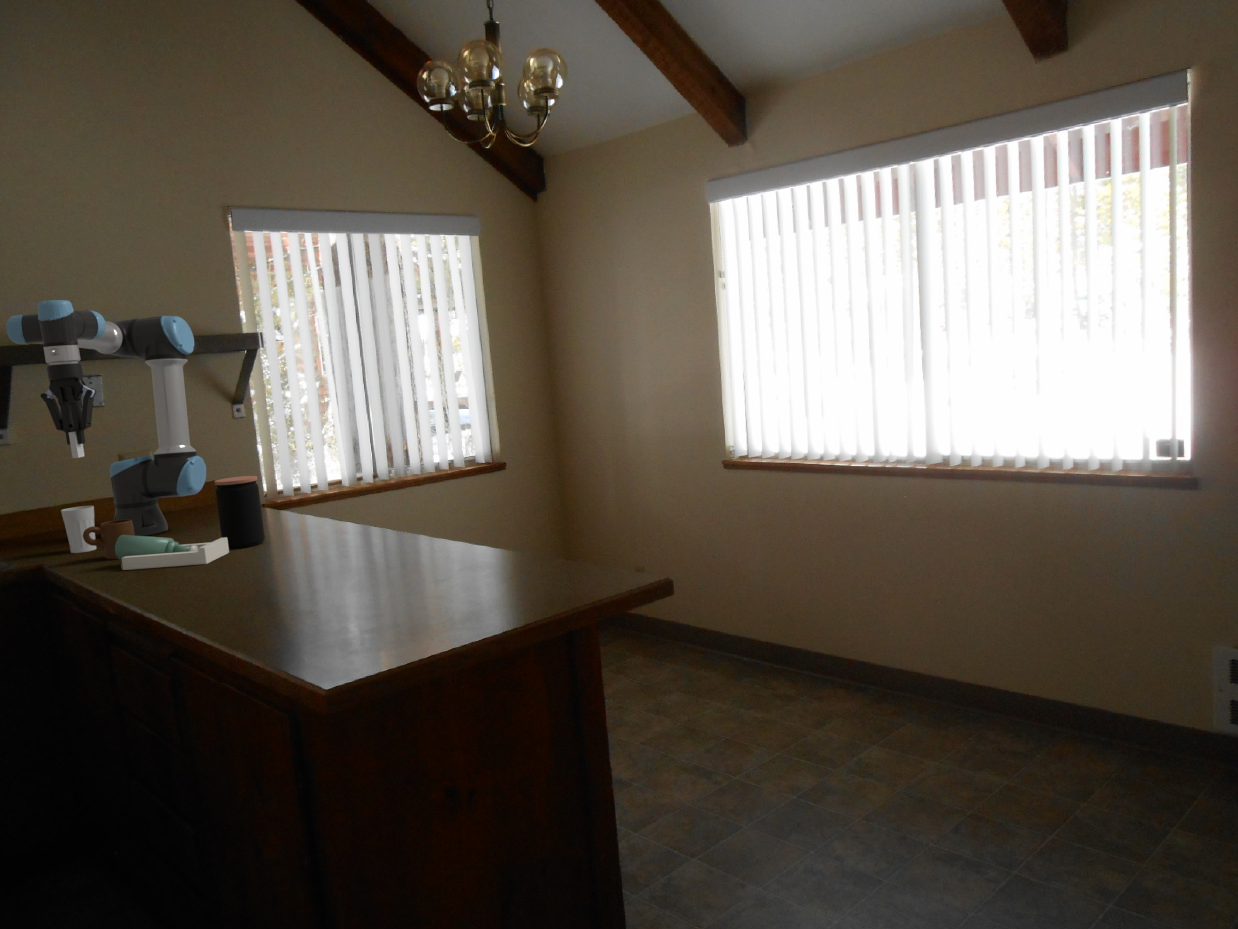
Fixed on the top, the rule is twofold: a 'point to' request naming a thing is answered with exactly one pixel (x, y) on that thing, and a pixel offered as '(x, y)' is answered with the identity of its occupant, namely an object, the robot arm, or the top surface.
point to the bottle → (148, 546)
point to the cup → (78, 527)
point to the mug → (109, 535)
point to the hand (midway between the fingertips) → (78, 457)
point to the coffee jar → (240, 511)
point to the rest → (179, 556)
